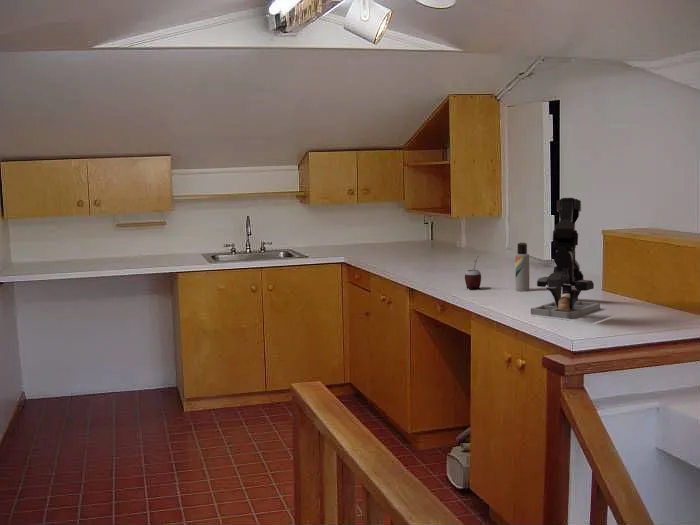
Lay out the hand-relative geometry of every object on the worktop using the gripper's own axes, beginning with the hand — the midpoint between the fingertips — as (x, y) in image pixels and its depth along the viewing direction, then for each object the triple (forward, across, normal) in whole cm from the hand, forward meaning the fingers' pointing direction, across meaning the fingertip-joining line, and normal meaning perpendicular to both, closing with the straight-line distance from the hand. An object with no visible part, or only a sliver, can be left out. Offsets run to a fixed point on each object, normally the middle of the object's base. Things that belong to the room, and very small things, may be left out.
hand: (564, 308), depth 277 cm
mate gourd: (+4, -62, +34) cm, 70 cm away
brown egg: (+1, 0, 0) cm, 1 cm away
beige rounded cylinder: (+3, -7, +14) cm, 16 cm away
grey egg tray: (+3, -4, +7) cm, 8 cm away
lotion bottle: (+4, -42, +42) cm, 60 cm away
